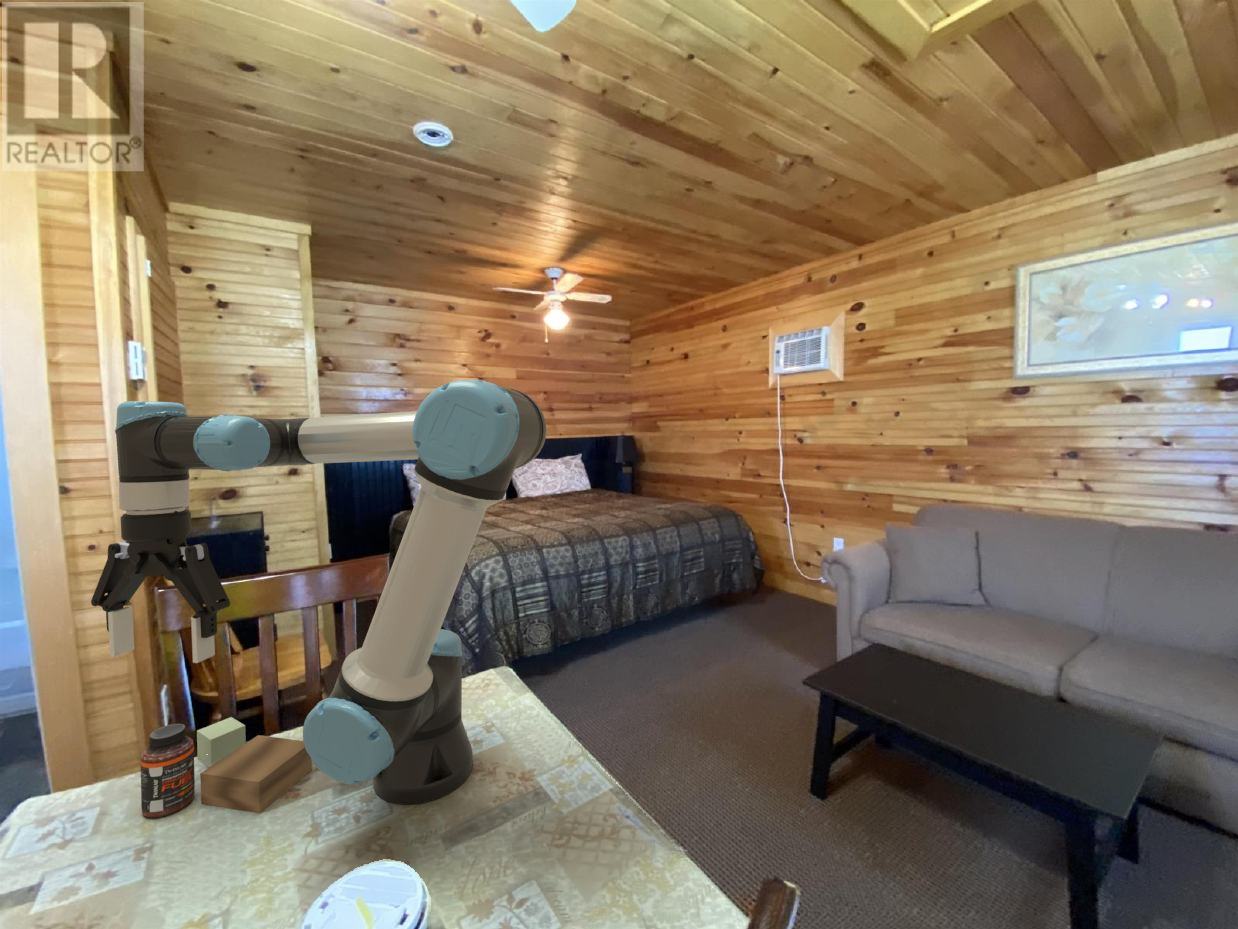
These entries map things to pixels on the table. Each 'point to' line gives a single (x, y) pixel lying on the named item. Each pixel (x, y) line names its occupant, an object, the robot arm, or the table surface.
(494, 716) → the table surface
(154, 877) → the table surface
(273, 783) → the walnut block
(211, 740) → the sage block
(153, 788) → the supplement bottle
